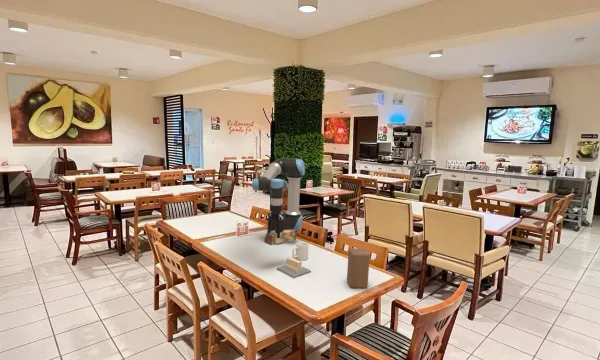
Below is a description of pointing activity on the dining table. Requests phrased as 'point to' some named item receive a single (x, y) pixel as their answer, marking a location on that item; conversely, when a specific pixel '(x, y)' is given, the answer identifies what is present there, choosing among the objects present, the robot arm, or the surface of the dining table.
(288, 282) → the dining table surface
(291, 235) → the oak bar
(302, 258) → the cup
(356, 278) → the wooden block
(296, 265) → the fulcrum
